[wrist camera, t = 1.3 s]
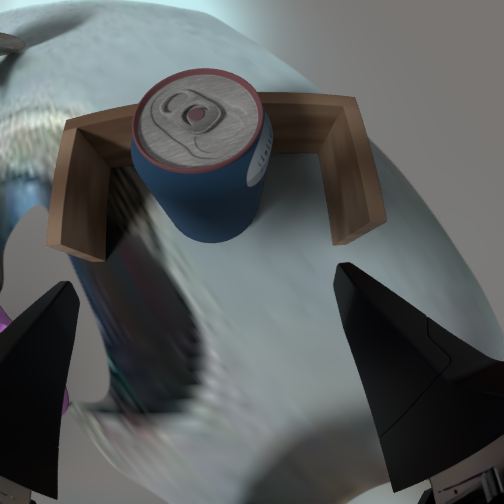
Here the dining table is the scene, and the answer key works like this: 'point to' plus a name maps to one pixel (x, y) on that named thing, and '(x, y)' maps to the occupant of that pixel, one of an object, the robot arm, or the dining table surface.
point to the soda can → (203, 151)
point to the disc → (10, 44)
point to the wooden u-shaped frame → (284, 141)
